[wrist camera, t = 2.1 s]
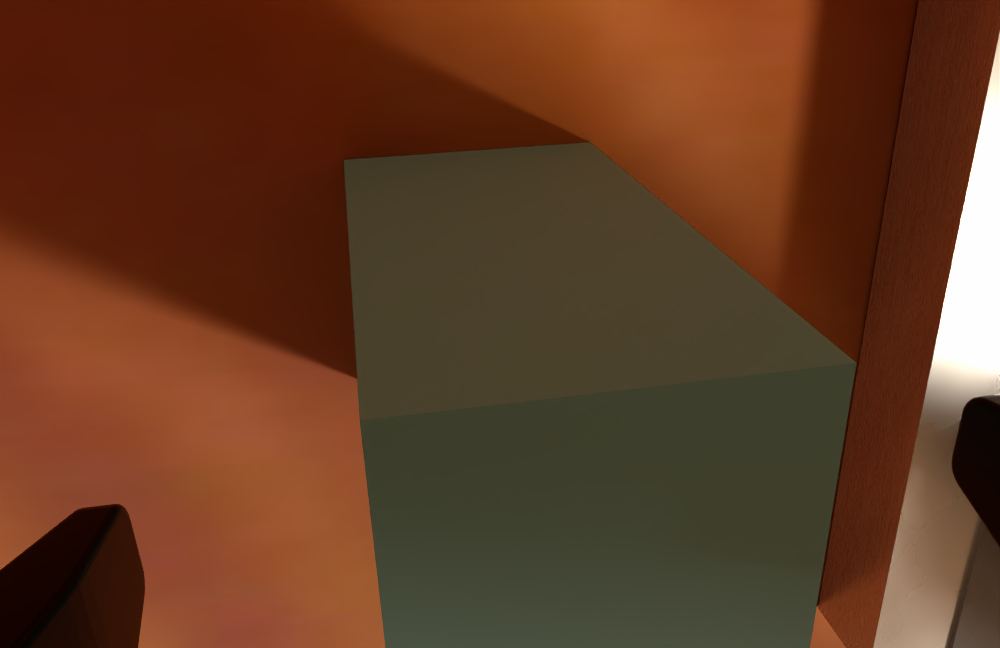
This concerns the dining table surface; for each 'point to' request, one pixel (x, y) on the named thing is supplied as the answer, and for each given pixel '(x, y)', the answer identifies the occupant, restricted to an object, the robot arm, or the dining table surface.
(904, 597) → the square hole board
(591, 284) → the square peg
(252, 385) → the dining table surface
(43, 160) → the dining table surface
